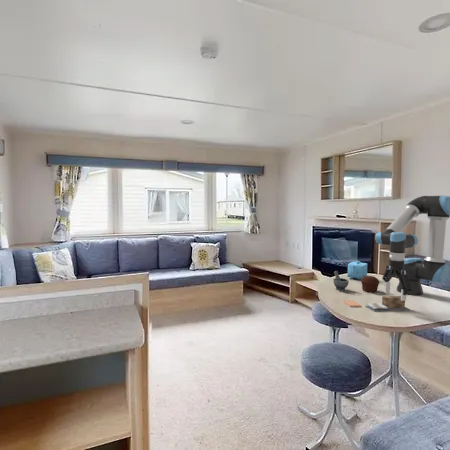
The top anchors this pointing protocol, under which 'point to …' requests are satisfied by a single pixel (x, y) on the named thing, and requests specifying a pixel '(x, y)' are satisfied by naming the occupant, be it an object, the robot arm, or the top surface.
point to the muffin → (370, 284)
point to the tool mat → (388, 309)
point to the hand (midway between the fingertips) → (395, 296)
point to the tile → (351, 303)
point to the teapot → (357, 270)
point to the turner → (388, 303)
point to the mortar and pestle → (340, 282)
